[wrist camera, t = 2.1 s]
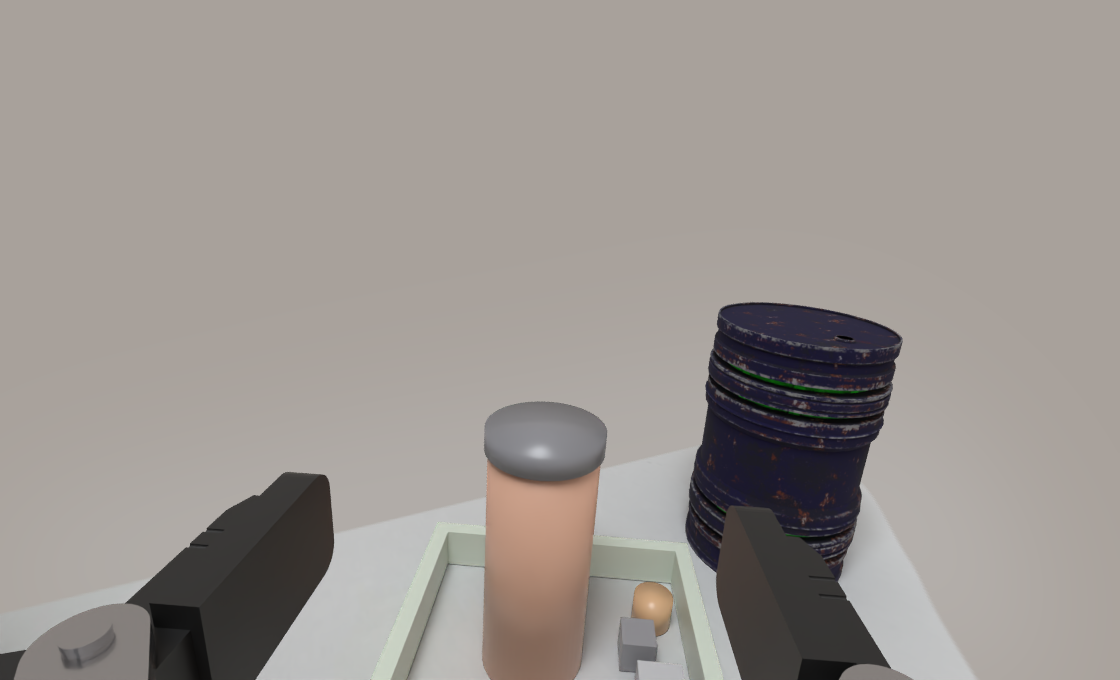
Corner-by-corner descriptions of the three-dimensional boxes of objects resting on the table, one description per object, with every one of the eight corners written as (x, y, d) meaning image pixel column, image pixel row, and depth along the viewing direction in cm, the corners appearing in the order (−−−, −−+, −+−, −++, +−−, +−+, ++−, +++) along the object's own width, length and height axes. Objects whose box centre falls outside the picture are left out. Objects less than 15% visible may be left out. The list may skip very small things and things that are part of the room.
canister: (469, 695, 24) (473, 452, 20) (489, 607, 29) (495, 397, 25) (584, 706, 24) (609, 463, 20) (584, 615, 29) (605, 406, 25)
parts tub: (350, 777, 20) (346, 735, 20) (437, 553, 32) (437, 522, 32) (738, 816, 20) (748, 774, 19) (682, 574, 32) (687, 543, 31)
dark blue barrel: (656, 508, 38) (684, 303, 34) (770, 490, 42) (810, 300, 37) (745, 615, 29) (799, 355, 25) (881, 582, 33) (950, 346, 28)
